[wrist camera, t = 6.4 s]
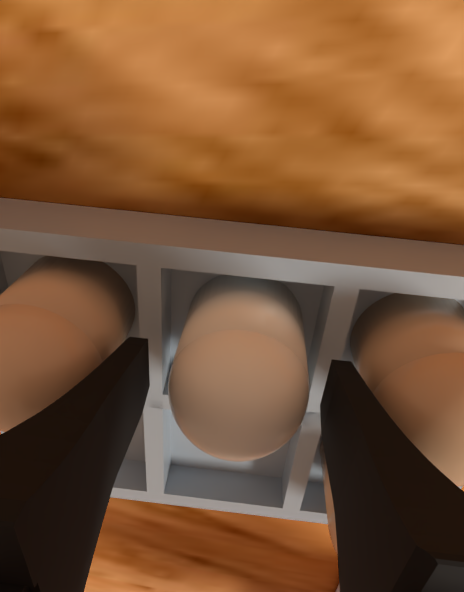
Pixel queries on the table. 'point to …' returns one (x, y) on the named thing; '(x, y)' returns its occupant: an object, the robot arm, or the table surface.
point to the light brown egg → (240, 369)
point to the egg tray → (173, 312)
